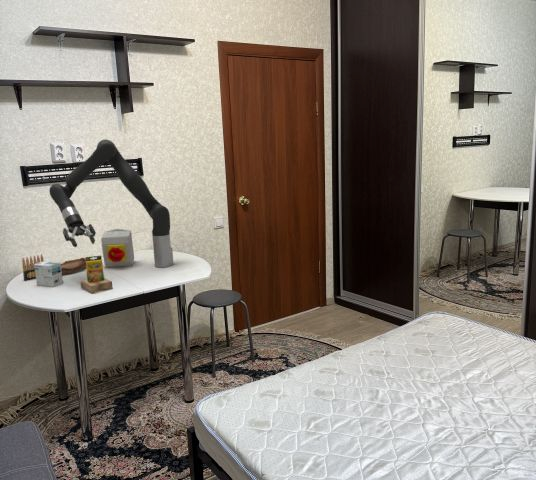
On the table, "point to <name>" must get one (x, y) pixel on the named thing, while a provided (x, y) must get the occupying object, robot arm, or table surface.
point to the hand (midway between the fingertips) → (85, 244)
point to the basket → (73, 266)
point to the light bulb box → (48, 273)
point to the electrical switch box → (117, 248)
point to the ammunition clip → (29, 271)
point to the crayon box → (94, 269)
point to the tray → (96, 285)
